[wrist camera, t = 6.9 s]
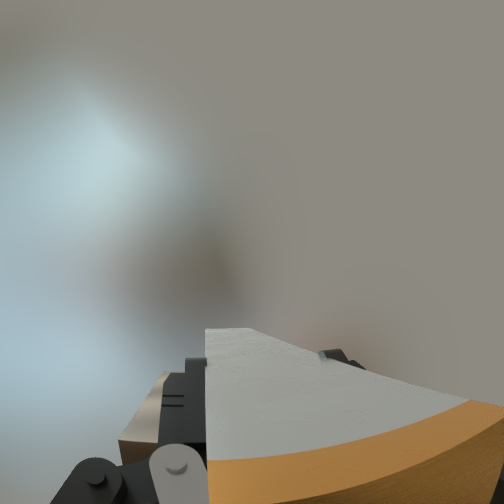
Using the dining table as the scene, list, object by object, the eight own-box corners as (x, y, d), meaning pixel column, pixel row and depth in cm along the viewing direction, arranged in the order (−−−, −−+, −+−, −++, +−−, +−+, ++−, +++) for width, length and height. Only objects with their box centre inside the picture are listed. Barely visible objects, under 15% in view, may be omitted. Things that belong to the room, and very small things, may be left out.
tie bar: (451, 577, 2) (515, 409, 2) (237, 647, 1) (209, 508, 2) (250, 369, 27) (249, 327, 28) (207, 371, 26) (205, 328, 27)
